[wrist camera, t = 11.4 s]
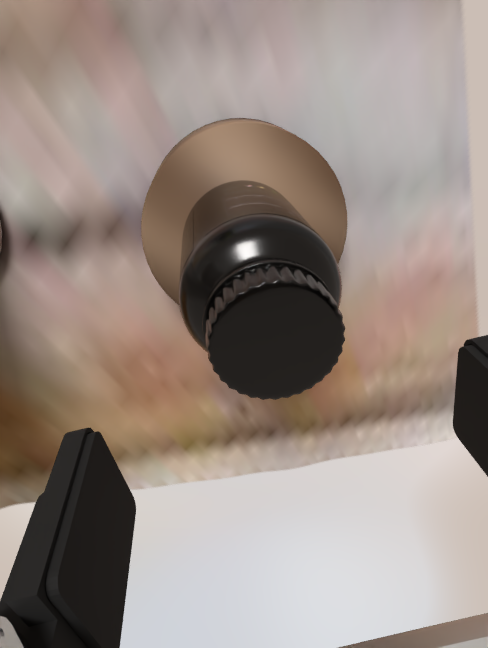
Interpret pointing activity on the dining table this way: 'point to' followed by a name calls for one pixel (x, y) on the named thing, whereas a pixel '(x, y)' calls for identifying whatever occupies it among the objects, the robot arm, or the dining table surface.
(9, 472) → the dining table surface
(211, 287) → the supplement bottle
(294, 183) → the walnut stand
